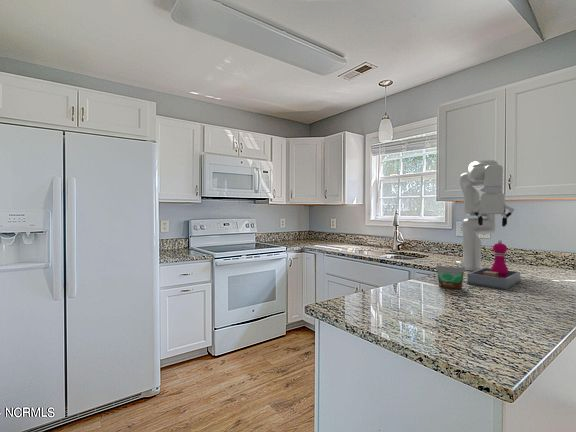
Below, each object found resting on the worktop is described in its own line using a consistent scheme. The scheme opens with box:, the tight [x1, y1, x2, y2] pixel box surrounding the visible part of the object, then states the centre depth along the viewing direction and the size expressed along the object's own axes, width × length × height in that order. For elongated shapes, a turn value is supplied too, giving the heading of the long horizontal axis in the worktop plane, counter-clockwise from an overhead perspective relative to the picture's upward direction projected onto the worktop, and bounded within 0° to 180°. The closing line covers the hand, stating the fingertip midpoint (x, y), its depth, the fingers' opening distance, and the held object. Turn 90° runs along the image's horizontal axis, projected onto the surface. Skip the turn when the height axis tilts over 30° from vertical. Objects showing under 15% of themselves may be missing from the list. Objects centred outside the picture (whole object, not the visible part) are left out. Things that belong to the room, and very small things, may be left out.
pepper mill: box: [490, 239, 509, 278], centre depth 156 cm, size 7×7×20 cm
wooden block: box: [483, 271, 498, 277], centre depth 148 cm, size 5×5×5 cm
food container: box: [435, 264, 467, 291], centre depth 140 cm, size 12×6×10 cm, turn 62°
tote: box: [466, 267, 521, 291], centre depth 152 cm, size 16×26×5 cm, turn 132°
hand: (492, 225), depth 149 cm, fingers open, 9 cm apart
